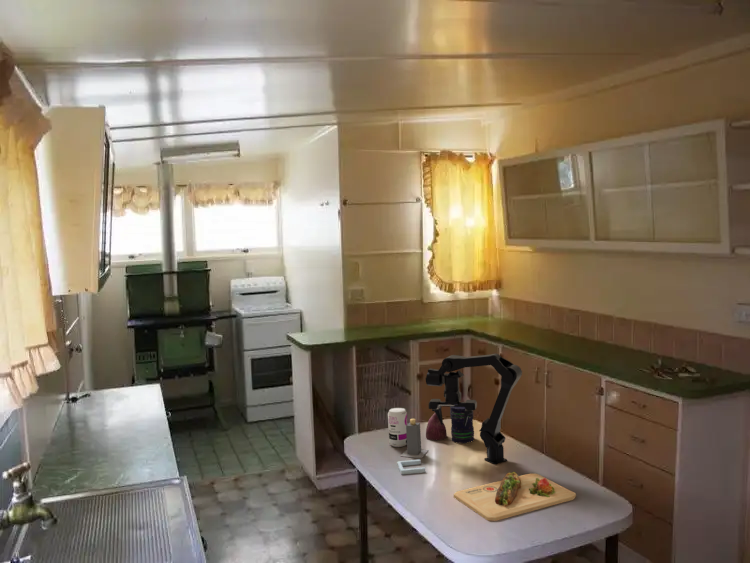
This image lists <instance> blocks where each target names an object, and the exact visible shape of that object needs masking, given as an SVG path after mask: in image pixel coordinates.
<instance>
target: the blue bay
mask: <svg viewBox="0 0 750 563" xmlns="http://www.w3.org/2000/svg"><path fill="white" fill-rule="evenodd" d="M414 465H415V466H416V465H422V460H421V458H417V459H410V460H399V461H396V466H397V467H398V470H399V473H400V474H401V475H410V474H411V475H412V474H421V473H426V467H425V466H423V467H422V466H421V467H415V468H414V467H413V468H404V467H406V466H414Z"/></svg>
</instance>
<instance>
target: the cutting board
mask: <svg viewBox="0 0 750 563" xmlns="http://www.w3.org/2000/svg"><path fill="white" fill-rule="evenodd" d="M576 493H577V492H574V491H572V490H570V489H568V488H566V487H564V486H562V485H560V484H558V483H556V482H554V481H553V480H550V479H548V478H546V477H544V476H542V475H541V474H538V473H526V474H523V475H522V474H521V475H518V474H517V473H516V472H515V471H513V472H507V473H506V474H505V475H504V477H502V479H501V480H498V481H493V482H490V483H485V484H482V485H481V484H480V485H477V486H474V487H470V488H465V489H462V490H457V491H456V492H454V493H453V498H454V499H455V498H456V499H455V500H457V501H458V502H460V503H461V502H462V503H461V504H463V506H466V507H467V508H469V509H470V510H471V509H472V511H473V512H474V511H475V513H476V514H477V513H478V515H479V516H480V517H482V518H483V519H485V520H486V521H493V522H494V521H495V522H496V521H500V520H504V519H507V518H510V517H515V516H519V515H521V514H522V515H523V514H526V513H530V512H533V511H536V510H542V509H544V508H548V507H552V506H554V505H558V504H563V503H566V502H569V501H573V500H575V498H576V497H577V494H576Z"/></svg>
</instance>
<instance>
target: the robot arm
mask: <svg viewBox="0 0 750 563" xmlns="http://www.w3.org/2000/svg"><path fill="white" fill-rule="evenodd" d="M486 366H492V367H493V369H494V370H495V371H496V372H497V373H498V374H499V375H500V376H501V377H500V389H499V392H498V394H497V398H496V400H495V402H494V406H493V408H492V411H491V412H490V413H491V414H490V416H489V417H487V418H486V419H484V420H483V421H482V423H481V428H479V437H480V439H481V441H482V442H483V444H484V446H485V448H486V457H485V458H484V459H483V460H484V461H487V462H489V463H491V464H493V465H497V464H501V463H504V462H507V461H508V459H507V458H505V456H504V455H505V452H504V451H505V450H504V449H505V448H504V445H503V443H505V441H506V436H505V435H504V434H503V433H502V432H501V422H502V421H501V420H502V418H503V415H504V412H505V409H506V406H507V404H508V402H509V399H510V397H511V393H512V391H513V389H514V387H515V386H516V385H517V384H518V382H519V380H520V379H521V377H522V375H523V370H522V368H521V367H520V366H519V365H517V364H515V363H513V362H511V360H508V359H506V358H504V357H502V356H501V355H500V354H499V353H492V354H484V355H475V356H474V355H473V356H462V355H457V354H451V355H449V356H447V357H446V358H443V359H442V361H441V366H440V367H439V369H435V368H429V369H427V373H426V377H425V384H426V385H427V386H431V387H442V386H443V385H444V391H443V397H444V398H445V400H444V401H442V400H441V399H440V398H432V399H430V401H429V402H428V409H430V410H431V411H432V412H434V413H436V415H437V417H438V419H439V421H440V423H441V425H443V423H444V420H443V412H442V407H449V408H450V407H465V412H464V426H465V425H466V422H467V418H468V415H469V413H470V412H472V411H473V412H474V411H475V410H476V409H477V407H478V402H477V400H476V399H466V401H465V402H464V401H462V392H461V391H460V378H462V377H464V376H465V375H464V373H463V372H461V370H462V369H465V368H473V367H486ZM454 404H458V405H454Z"/></svg>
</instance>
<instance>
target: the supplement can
mask: <svg viewBox="0 0 750 563" xmlns="http://www.w3.org/2000/svg"><path fill="white" fill-rule="evenodd" d="M407 424H408V412H407V409H406V408H404V407H392V408H390V409H389V410H388V412H387V425H388V427H387V428H388V441H389V442H388V443H389V445H391V447H394V448H400V447H402V448H403V447H405V446H407V435H406V425H407Z"/></svg>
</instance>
